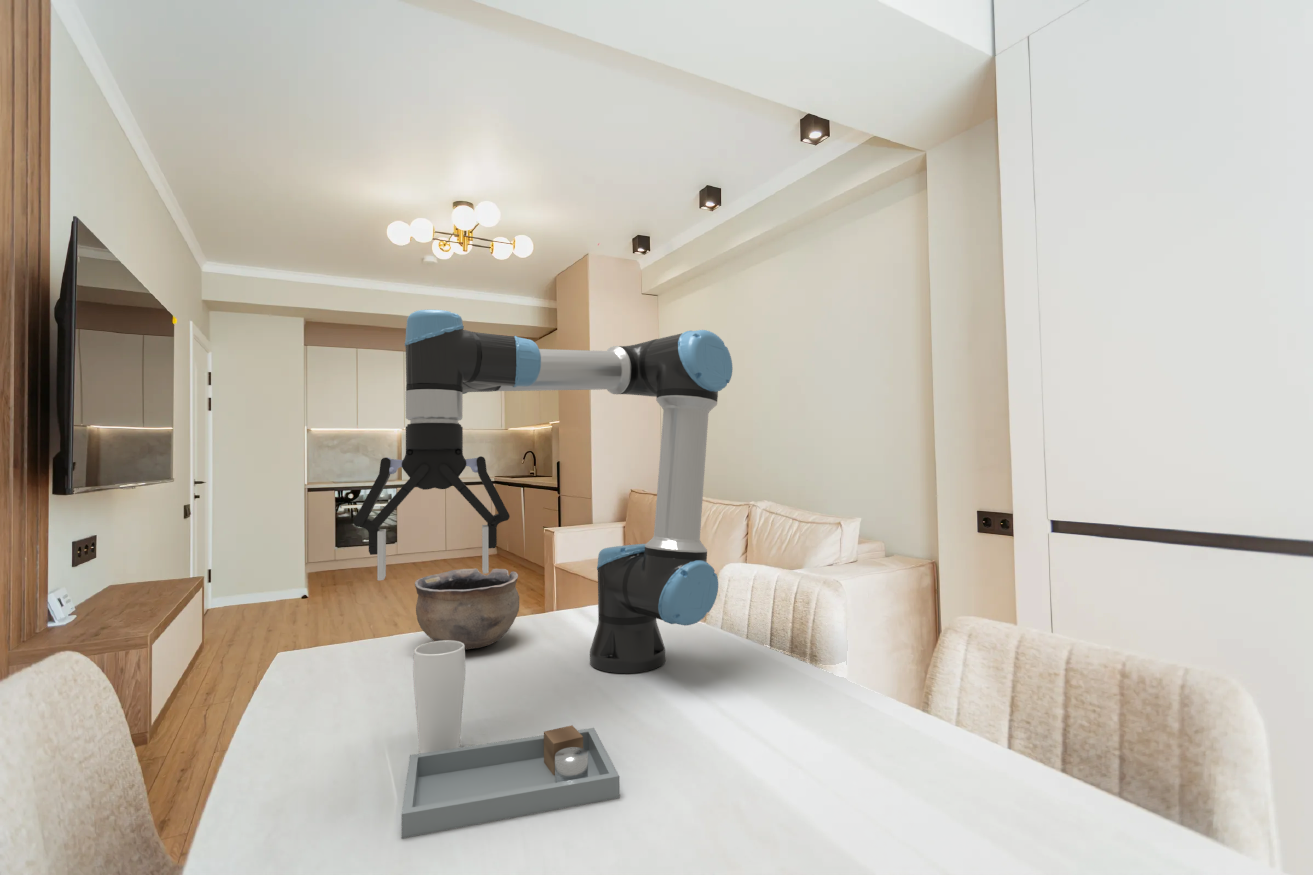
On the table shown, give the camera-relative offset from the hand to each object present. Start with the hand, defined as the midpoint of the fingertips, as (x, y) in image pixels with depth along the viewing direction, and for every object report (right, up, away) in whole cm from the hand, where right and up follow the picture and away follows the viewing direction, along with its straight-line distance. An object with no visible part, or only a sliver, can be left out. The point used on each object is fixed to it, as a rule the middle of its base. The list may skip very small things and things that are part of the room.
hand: (434, 575), depth 87 cm
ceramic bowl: (-10, -27, +50) cm, 57 cm away
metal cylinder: (+20, -24, -11) cm, 33 cm away
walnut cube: (+19, -24, -5) cm, 31 cm away
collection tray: (+13, -24, -10) cm, 29 cm away
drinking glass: (+1, -25, -1) cm, 25 cm away
